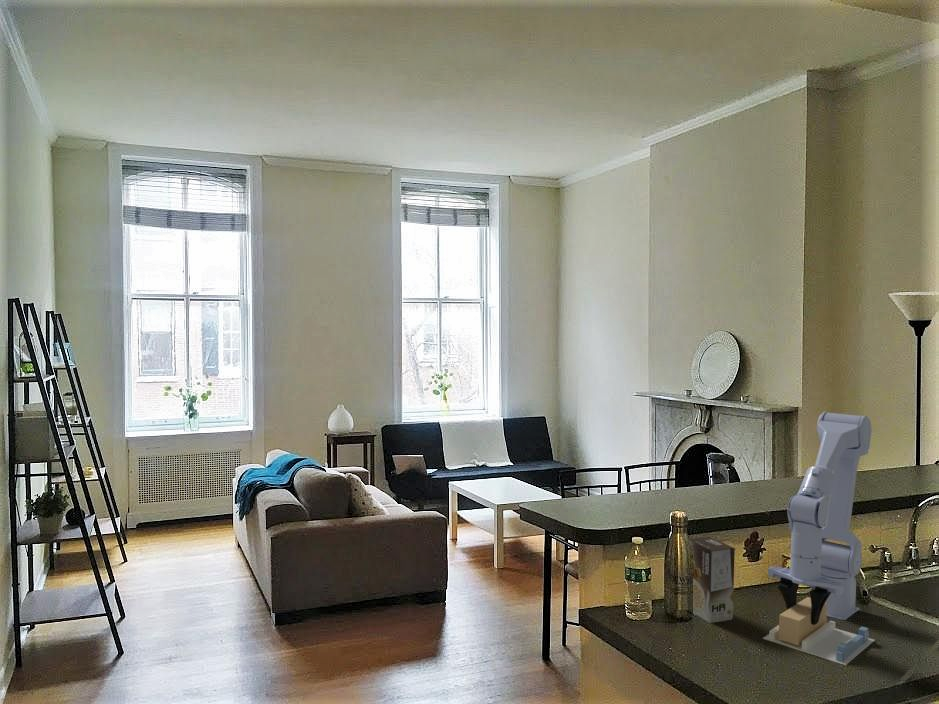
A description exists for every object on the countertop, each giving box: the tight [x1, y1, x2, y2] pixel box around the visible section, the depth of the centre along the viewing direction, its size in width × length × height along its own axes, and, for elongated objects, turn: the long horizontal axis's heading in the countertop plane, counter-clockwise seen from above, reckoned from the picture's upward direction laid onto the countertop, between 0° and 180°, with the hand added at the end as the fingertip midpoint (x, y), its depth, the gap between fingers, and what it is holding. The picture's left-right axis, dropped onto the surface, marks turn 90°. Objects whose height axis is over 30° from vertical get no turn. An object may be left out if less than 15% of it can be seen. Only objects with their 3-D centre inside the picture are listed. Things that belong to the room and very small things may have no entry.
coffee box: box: [688, 536, 736, 624], centre depth 169 cm, size 9×6×16 cm
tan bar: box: [778, 596, 828, 646], centre depth 159 cm, size 14×4×5 cm, turn 135°
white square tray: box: [762, 620, 876, 666], centre depth 157 cm, size 16×16×3 cm
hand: (803, 619), depth 159 cm, fingers closed on tan bar, 4 cm apart
